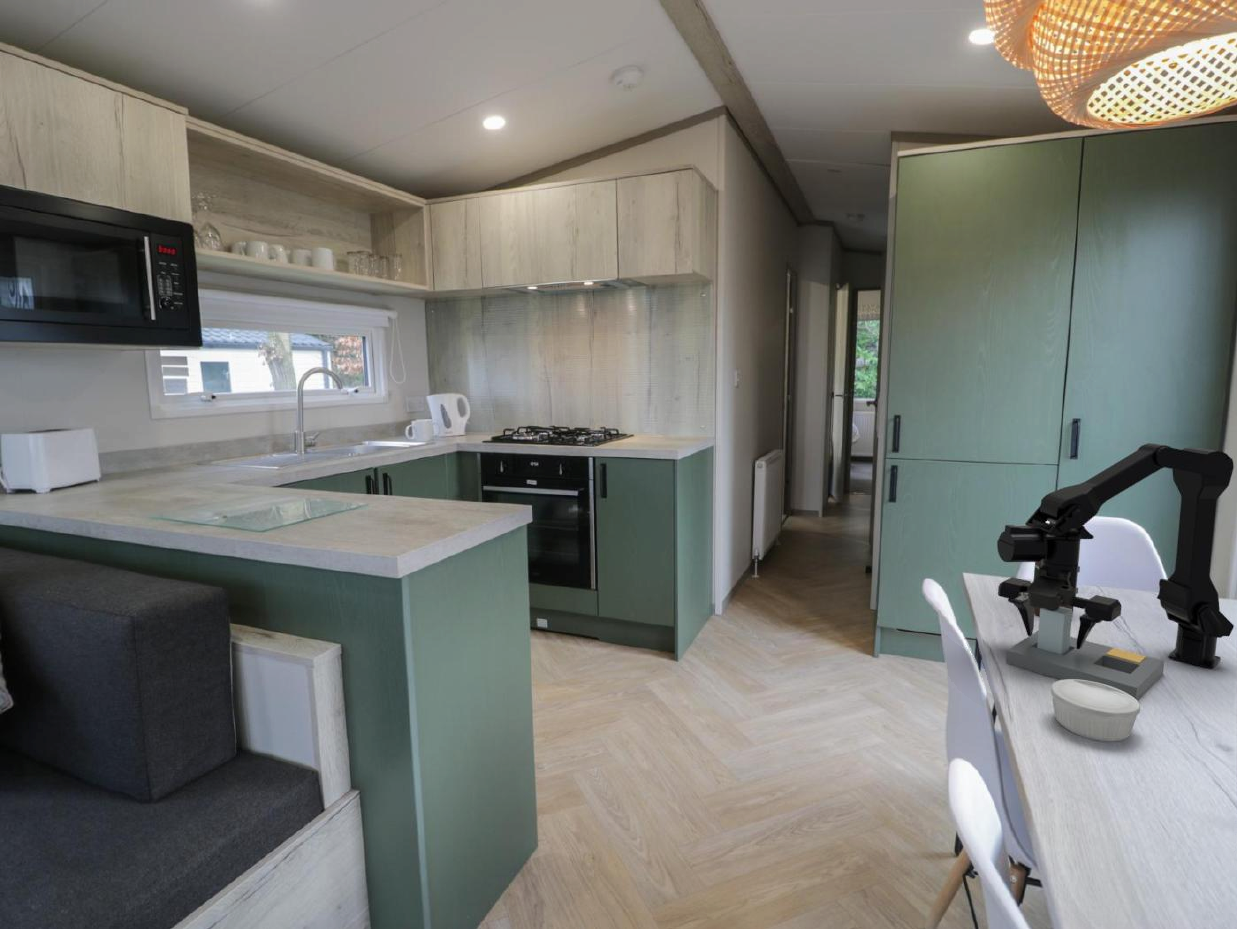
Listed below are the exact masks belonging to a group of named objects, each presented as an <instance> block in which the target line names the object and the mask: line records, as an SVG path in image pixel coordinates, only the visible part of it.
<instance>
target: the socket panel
mask: <svg viewBox="0 0 1237 929" xmlns="http://www.w3.org/2000/svg"><path fill="white" fill-rule="evenodd" d="M1038 631H1039V629H1038V630H1037V631H1035V632H1033V633H1032V635H1031V636H1027V637H1026V638H1024V639H1023V640H1020V641H1018V642H1017V643H1016V644H1014V645H1013V646H1011V647H1009V648H1008V649H1007V650H1006V655H1005V656H1006V657H1005V658H1006V659H1005V663H1006V664H1008V665H1012V666H1015V667H1018V668H1021V669H1025V670H1029V671H1032V672H1035V673H1038V674H1041V675H1045V676H1048V677H1052V678H1054V679H1057V680H1066V679H1078V680H1087V681H1092V682H1097V683H1101V684H1105V685H1108V686H1111V687H1114V688H1116V689H1119V690H1121V691H1123V692H1125V693H1127V694H1129V695H1131V696H1132V697H1134V698H1135V699H1136V700H1137V701H1138V700H1139V699H1141V697H1142V696H1144V694H1146V692H1147V691H1148V690H1149V689H1150V688H1151V687H1152V686H1153V685H1154V684H1155V683H1156V682H1157V681H1158V680H1159V679H1160V678H1161V677H1162V676H1163V675H1164V669H1165V668H1164V666H1165V660H1163V659H1157V658H1155V657H1150V656H1148V655H1147V656H1146V655H1143V654H1138V653H1134V652H1131V651H1128V650H1124V649H1119V648H1116V647H1112V646H1108V645H1104V644H1100V643H1096V642H1093V641H1089V640H1085V642H1084V643H1083V645H1082V647H1081V648H1080V649H1077V637H1073V636H1070V644H1069V653H1067V654H1066V655H1060V654H1057V653H1053V652H1049V651H1046V650H1042V649H1039V648H1037V644H1038Z"/></svg>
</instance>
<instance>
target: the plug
mask: <svg viewBox="0 0 1237 929" xmlns="http://www.w3.org/2000/svg"><path fill="white" fill-rule="evenodd" d="M1072 618H1073V614H1072V609H1069V608H1064V607H1059V609H1058V610H1056V611H1049V610H1047V609H1044V608H1040V616H1039V618H1038V619H1039V620H1038V630H1039V631H1038V630H1037V631H1038V644H1037V648H1039V649H1042V650H1046V651H1049V652H1053V653H1057V654H1060V655H1066V654H1067V653H1069V644H1070V637H1071V630H1072Z"/></svg>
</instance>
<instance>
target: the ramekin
mask: <svg viewBox="0 0 1237 929" xmlns="http://www.w3.org/2000/svg"><path fill="white" fill-rule="evenodd" d="M1050 694H1051V697H1052V702H1053V712H1054V713H1053V714H1054V716H1055V719H1056V720H1057V722H1058V723H1059V724H1060V725H1061V726H1062V727H1063V728H1065V730H1068V731H1070V732H1072V733H1073V734H1076V735H1078V736H1081V737H1084V738H1087V739H1090V740H1094V741H1101V742H1108V743H1109V742H1114V743H1115V742H1121V741H1123V740H1125V739H1127V738H1128V737H1129V736H1130V735H1131V734H1132V731H1133V728H1134V725H1135V722H1136V719H1137V717H1138V716H1139V714H1140V713H1141V712H1140V711H1141V703H1140V702H1139V701H1138V700H1136V699H1135V698H1134V697H1132V696H1131V695H1129V694H1127V693H1125V692H1123V691H1121V690H1119V689H1116V688H1114V687H1111V686H1108V685H1105V684H1101V683H1097V682H1092V681H1087V680H1078V679H1066V680H1061V679H1059V680H1057V681H1054V683H1052V685H1051V690H1050Z"/></svg>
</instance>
